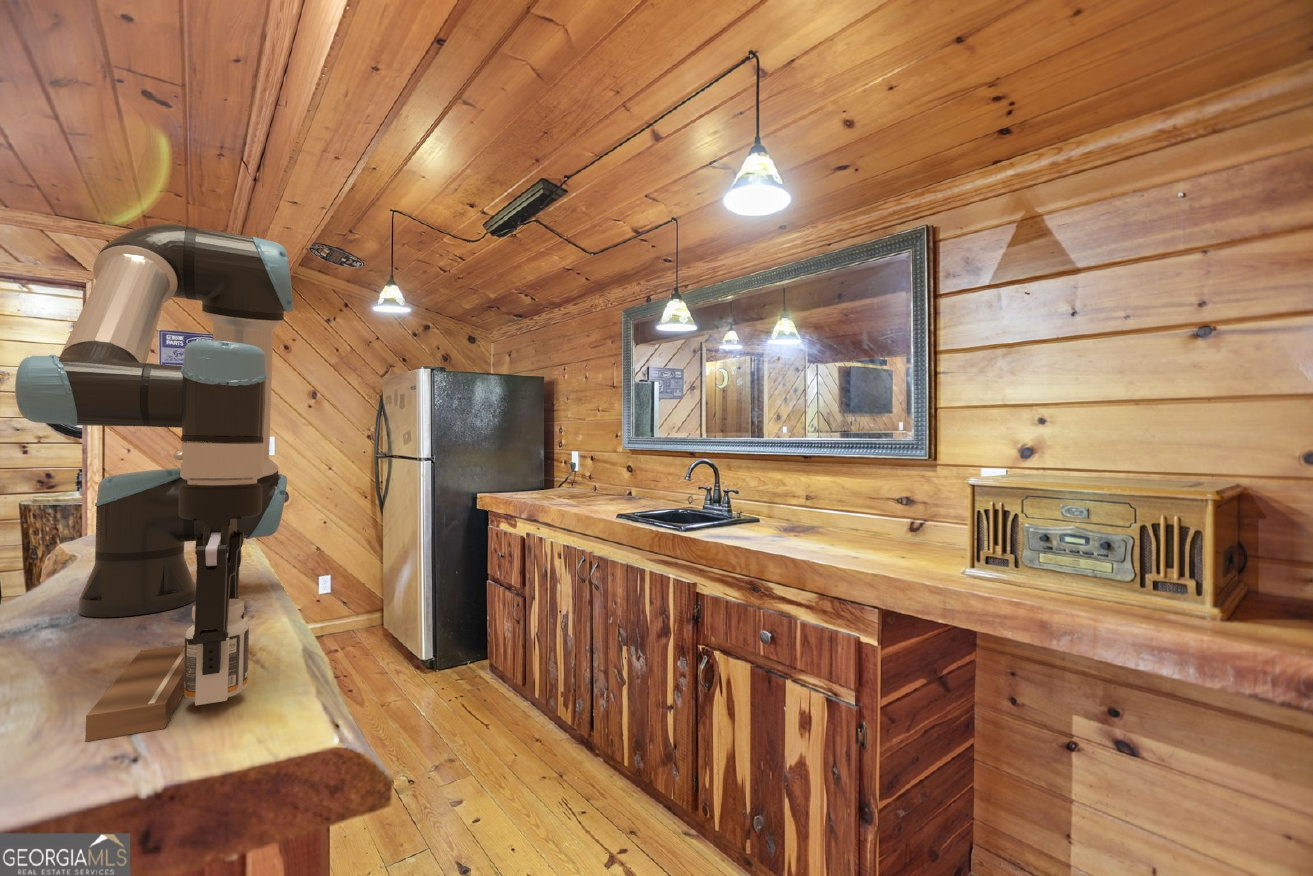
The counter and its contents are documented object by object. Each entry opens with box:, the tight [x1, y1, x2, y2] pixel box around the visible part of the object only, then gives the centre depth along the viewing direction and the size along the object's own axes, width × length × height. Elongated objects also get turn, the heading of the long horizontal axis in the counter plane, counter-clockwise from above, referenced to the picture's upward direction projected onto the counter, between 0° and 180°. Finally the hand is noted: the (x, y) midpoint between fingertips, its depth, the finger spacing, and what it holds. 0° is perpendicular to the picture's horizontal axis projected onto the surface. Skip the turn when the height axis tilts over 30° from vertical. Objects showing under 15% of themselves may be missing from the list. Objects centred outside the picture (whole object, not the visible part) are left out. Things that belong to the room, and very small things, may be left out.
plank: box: [84, 644, 185, 743], centre depth 68 cm, size 20×6×3 cm, turn 29°
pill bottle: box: [183, 598, 250, 703], centre depth 67 cm, size 6×6×10 cm
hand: (216, 690), depth 67 cm, fingers closed on pill bottle, 6 cm apart
